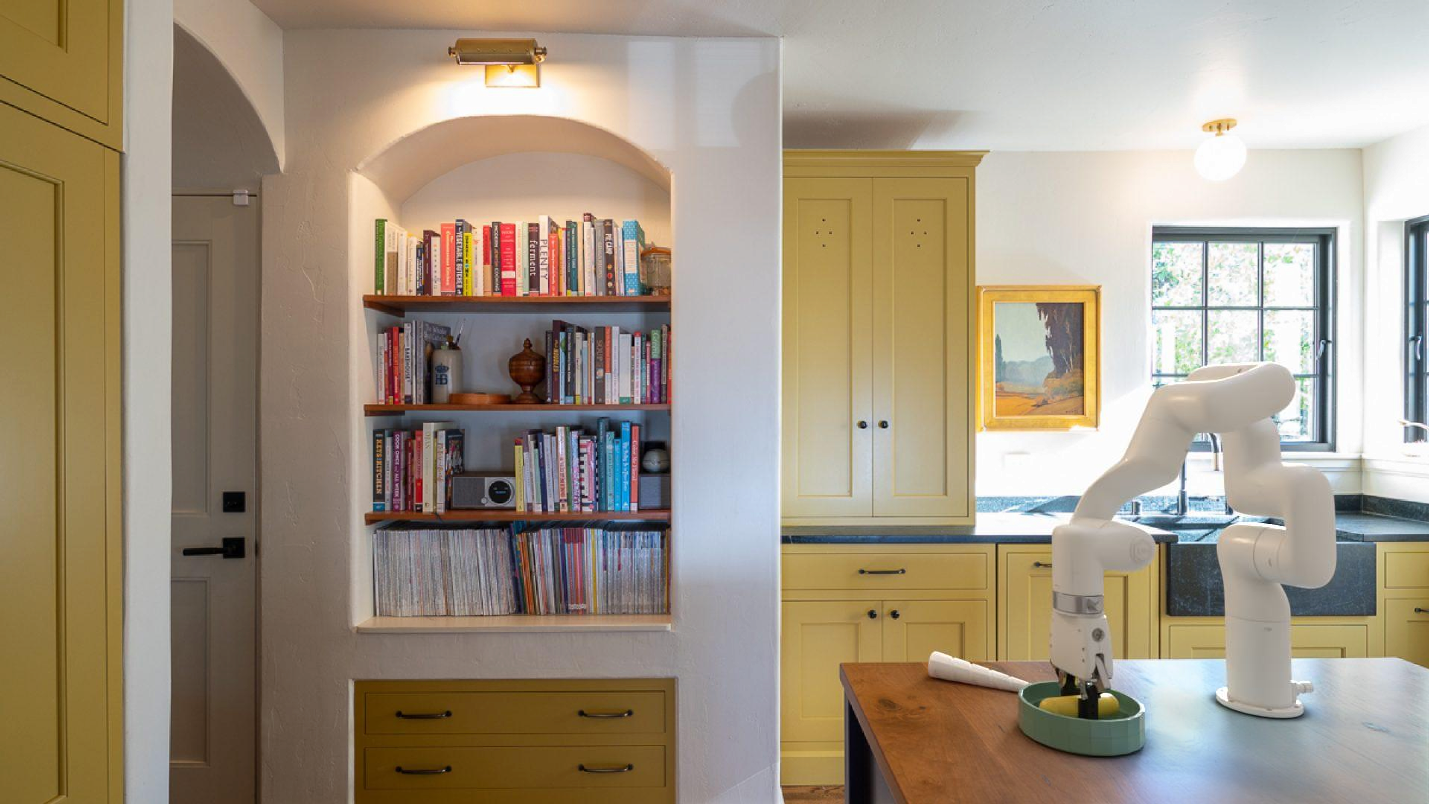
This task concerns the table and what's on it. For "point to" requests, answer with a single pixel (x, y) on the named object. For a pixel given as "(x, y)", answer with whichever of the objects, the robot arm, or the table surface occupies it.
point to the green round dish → (1081, 723)
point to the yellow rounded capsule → (1069, 705)
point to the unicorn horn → (970, 673)
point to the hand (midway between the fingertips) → (1079, 717)
